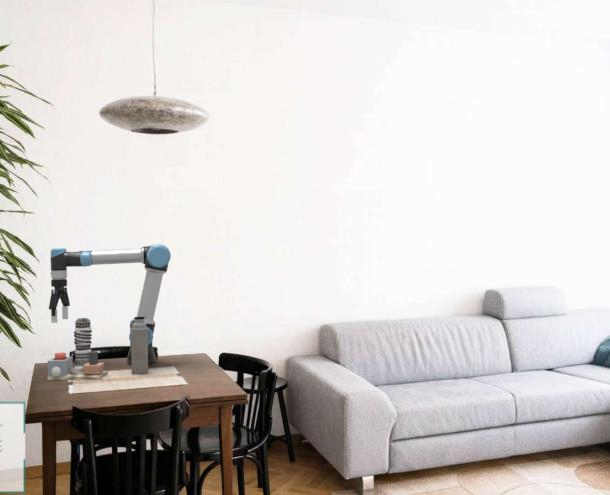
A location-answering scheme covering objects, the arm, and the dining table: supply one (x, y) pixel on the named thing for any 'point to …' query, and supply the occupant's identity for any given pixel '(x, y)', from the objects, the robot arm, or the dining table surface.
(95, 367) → the carriage
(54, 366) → the end cabinet
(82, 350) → the decorative candle
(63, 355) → the button
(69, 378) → the rail base
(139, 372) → the thermos bottle
